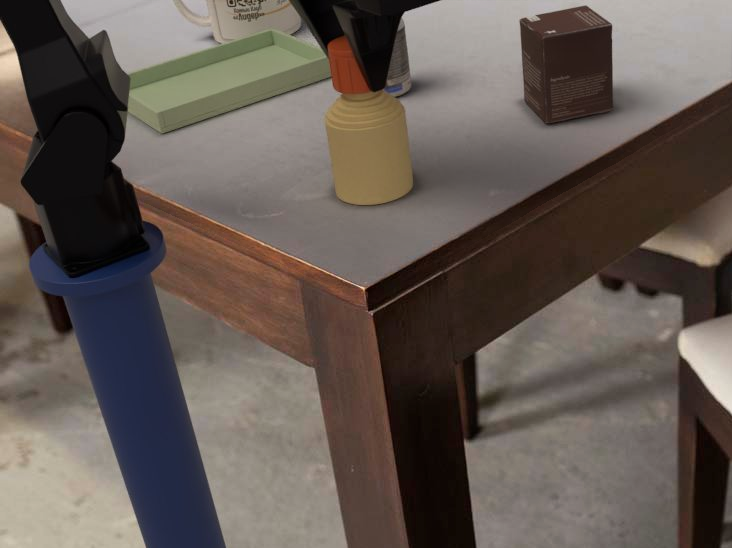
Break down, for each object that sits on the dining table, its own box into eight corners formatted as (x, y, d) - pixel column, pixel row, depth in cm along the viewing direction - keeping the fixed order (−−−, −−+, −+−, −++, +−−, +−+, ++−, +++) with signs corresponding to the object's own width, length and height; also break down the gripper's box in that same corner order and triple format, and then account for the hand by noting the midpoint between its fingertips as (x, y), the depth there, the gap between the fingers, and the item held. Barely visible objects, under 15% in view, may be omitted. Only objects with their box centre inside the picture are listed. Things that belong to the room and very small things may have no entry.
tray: (161, 134, 100) (156, 112, 99) (109, 99, 109) (104, 80, 108) (339, 74, 107) (336, 53, 106) (276, 46, 117) (273, 27, 116)
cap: (332, 97, 79) (325, 54, 77) (335, 77, 82) (328, 36, 80) (387, 91, 79) (382, 48, 77) (387, 71, 82) (383, 30, 80)
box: (614, 112, 91) (614, 23, 87) (544, 126, 91) (541, 37, 87) (589, 88, 96) (587, 3, 92) (522, 101, 96) (518, 16, 92)
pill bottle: (413, 79, 104) (403, -12, 99) (409, 97, 100) (399, 3, 95) (363, 83, 104) (351, -7, 100) (357, 102, 100) (344, 8, 96)
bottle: (377, 212, 82) (358, 73, 76) (319, 195, 85) (297, 61, 79) (429, 180, 85) (415, 45, 79) (371, 165, 88) (354, 35, 83)
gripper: (520, -165, 68) (531, 81, 77) (359, -182, 81) (384, 29, 90) (369, -126, 64) (399, 130, 72) (225, -151, 77) (265, 68, 86)
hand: (362, 83), depth 80 cm, fingers closed on cap, 4 cm apart
